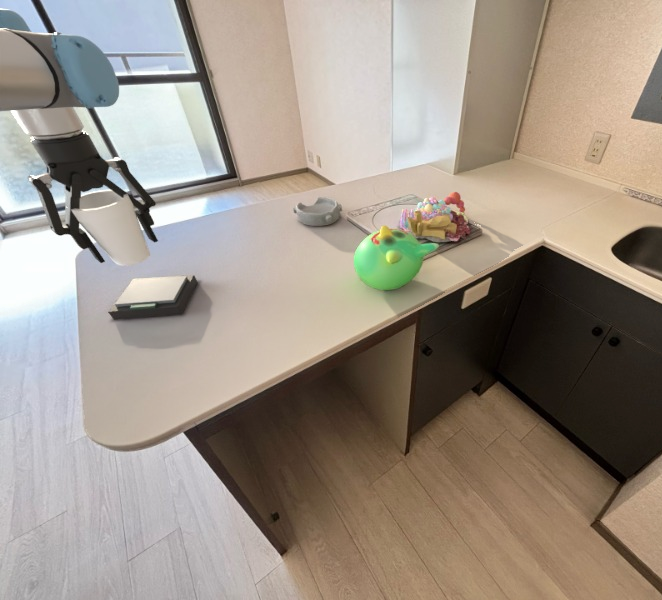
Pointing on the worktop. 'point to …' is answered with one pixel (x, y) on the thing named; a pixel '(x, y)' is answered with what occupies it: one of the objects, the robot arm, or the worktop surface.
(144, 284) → the scale
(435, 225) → the candy landscape model
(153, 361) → the worktop surface
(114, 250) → the foam cup
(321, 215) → the dish
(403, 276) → the toy bird
